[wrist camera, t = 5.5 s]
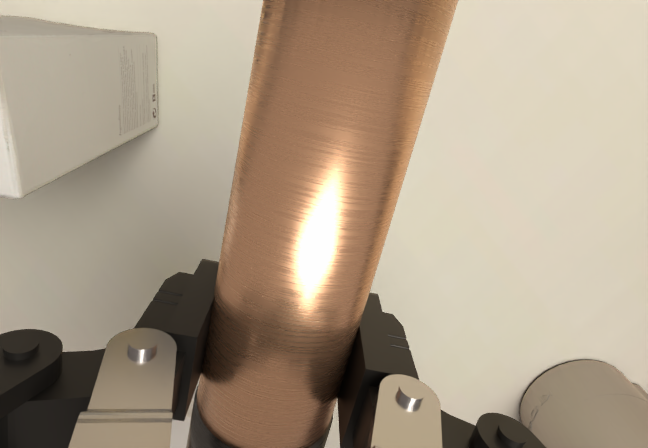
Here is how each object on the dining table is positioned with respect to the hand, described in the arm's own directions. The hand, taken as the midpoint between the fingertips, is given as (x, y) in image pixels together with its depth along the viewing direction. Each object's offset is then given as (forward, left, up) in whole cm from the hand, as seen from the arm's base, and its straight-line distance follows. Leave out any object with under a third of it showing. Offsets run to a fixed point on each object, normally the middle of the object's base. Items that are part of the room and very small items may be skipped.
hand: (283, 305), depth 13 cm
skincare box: (+14, -2, -19) cm, 24 cm away
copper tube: (0, 0, 0) cm, 0 cm away
